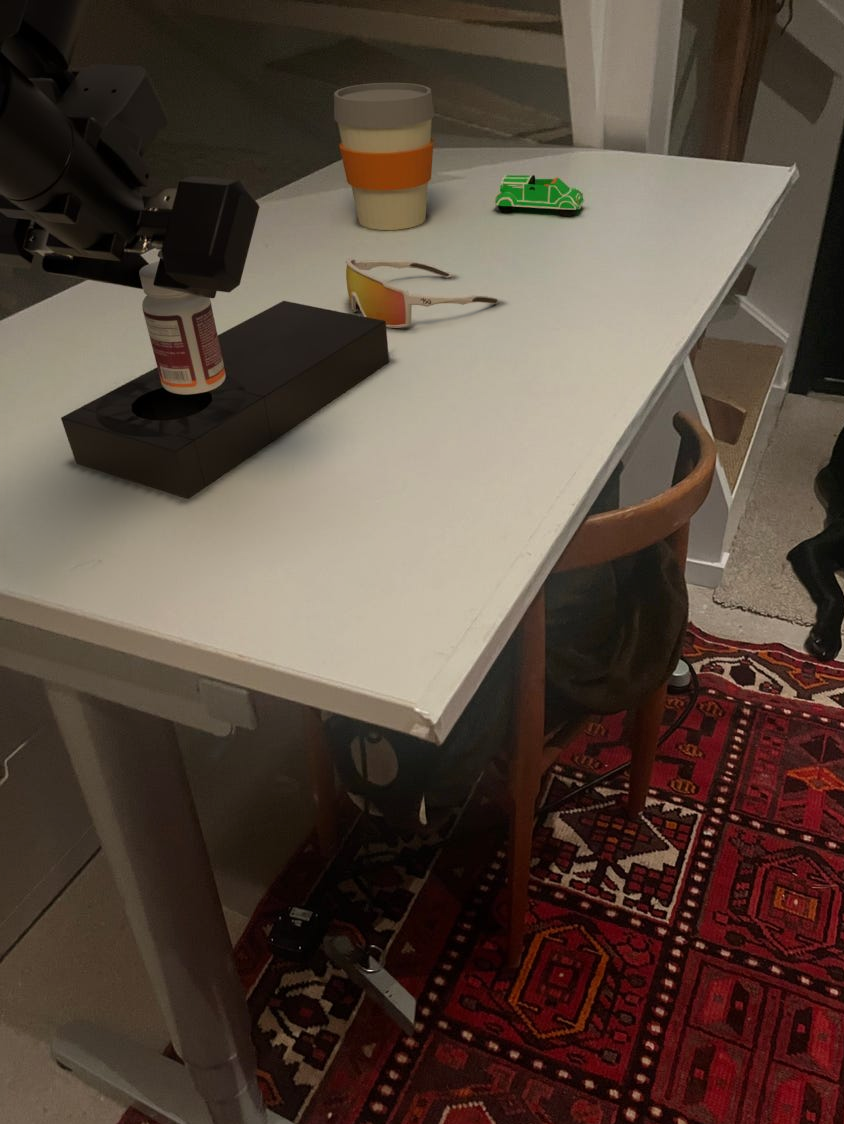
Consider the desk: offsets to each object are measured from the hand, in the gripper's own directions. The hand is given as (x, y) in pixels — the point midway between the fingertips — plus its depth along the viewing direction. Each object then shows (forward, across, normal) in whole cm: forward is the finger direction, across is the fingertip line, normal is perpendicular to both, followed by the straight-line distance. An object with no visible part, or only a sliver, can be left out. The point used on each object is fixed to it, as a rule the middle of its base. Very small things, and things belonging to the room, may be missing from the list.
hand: (185, 288), depth 66 cm
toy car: (+61, -4, -43) cm, 75 cm away
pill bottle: (+4, 0, +6) cm, 7 cm away
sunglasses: (+35, -2, -16) cm, 39 cm away
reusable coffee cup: (+54, +13, -36) cm, 66 cm away
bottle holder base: (+16, +3, +4) cm, 16 cm away
